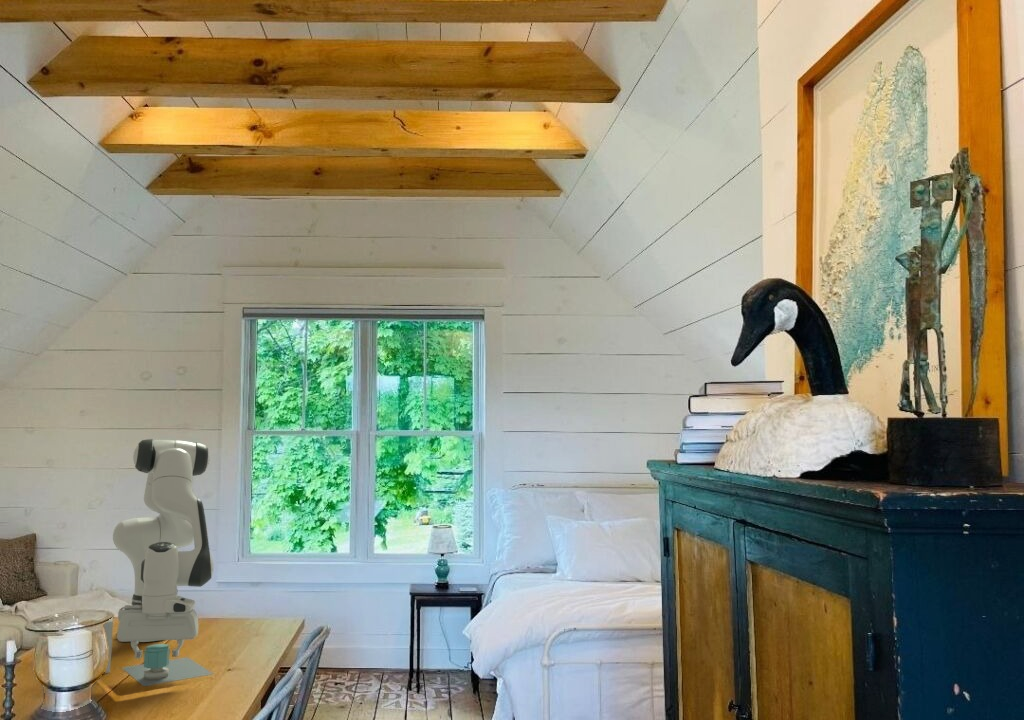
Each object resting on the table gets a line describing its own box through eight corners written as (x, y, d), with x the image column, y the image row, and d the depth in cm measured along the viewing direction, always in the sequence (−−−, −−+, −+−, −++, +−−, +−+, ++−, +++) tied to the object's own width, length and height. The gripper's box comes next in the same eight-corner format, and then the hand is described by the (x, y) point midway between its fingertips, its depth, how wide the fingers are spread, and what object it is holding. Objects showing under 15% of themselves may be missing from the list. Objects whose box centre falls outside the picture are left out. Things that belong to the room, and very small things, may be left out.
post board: (121, 672, 225) (122, 641, 226) (187, 661, 236) (188, 632, 237) (143, 691, 208) (145, 658, 209) (213, 678, 219) (215, 647, 220)
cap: (141, 668, 214) (142, 649, 214) (149, 662, 219) (149, 644, 220) (163, 668, 214) (164, 649, 215) (171, 661, 220) (171, 643, 220)
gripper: (114, 607, 214) (112, 661, 212) (196, 605, 217) (193, 658, 216) (122, 603, 220) (119, 655, 219) (201, 601, 223) (198, 652, 222)
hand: (157, 657), depth 217 cm, fingers open, 8 cm apart
